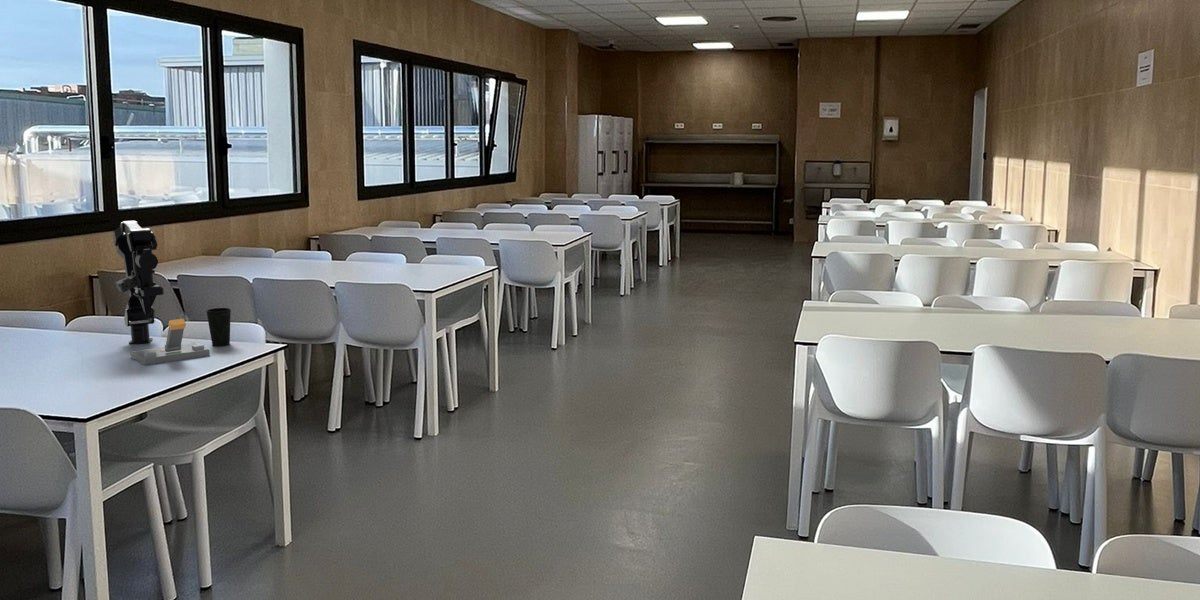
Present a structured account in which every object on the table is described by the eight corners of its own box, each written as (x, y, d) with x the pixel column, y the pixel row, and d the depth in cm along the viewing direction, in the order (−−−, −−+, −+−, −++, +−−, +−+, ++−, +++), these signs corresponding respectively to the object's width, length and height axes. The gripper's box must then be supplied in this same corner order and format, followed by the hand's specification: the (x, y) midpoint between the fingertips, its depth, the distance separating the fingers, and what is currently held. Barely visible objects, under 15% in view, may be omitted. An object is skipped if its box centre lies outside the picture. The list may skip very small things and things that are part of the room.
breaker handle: (164, 348, 330) (169, 320, 323) (178, 346, 333) (183, 318, 326) (166, 353, 329) (171, 325, 322) (180, 351, 332) (185, 323, 325)
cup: (204, 345, 349) (201, 310, 347) (221, 341, 356) (219, 307, 354) (220, 348, 345) (217, 312, 343) (238, 343, 352) (235, 308, 350)
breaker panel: (131, 357, 332) (130, 347, 331) (194, 348, 345) (193, 339, 344) (145, 365, 322) (144, 355, 321) (209, 355, 334) (209, 345, 334)
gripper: (108, 266, 341) (112, 313, 343) (126, 272, 327) (130, 321, 329) (143, 263, 348) (147, 309, 350) (162, 269, 334) (166, 316, 337)
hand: (146, 314), depth 341 cm, fingers closed
